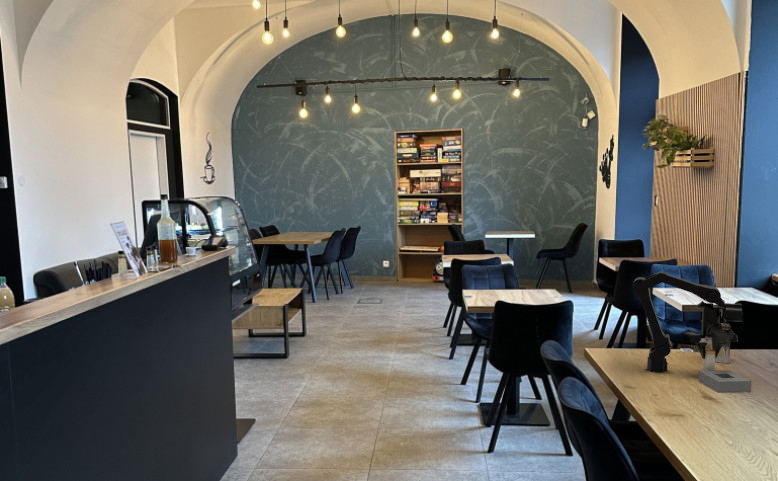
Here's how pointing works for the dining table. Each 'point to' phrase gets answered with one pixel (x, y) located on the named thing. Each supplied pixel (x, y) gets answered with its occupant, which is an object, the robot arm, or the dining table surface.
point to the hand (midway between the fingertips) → (709, 358)
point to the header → (724, 381)
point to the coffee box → (724, 351)
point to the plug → (709, 360)
